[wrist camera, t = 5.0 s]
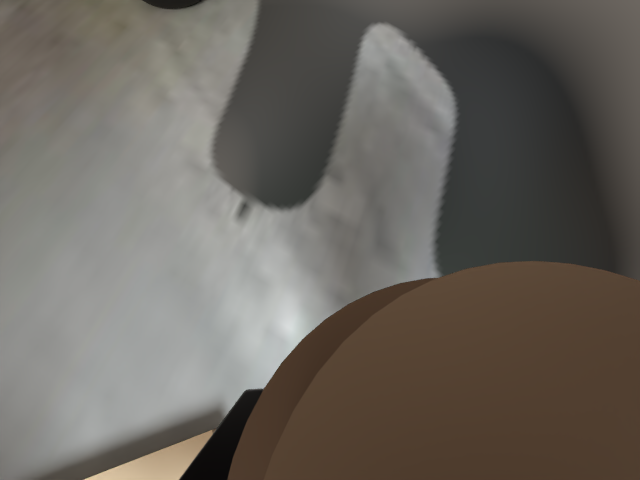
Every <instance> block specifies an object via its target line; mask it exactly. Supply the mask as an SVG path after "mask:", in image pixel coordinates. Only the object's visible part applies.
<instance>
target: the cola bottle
mask: <svg viewBox="0 0 640 480" xmlns="http://www.w3.org/2000/svg"><path fill="white" fill-rule="evenodd" d="M143 1H145V2H146V3H148V4H151V5H154V6H157V7H162V8H181V7H186V6H190V5H192V4H195V3H197V2H199V1H200V0H143Z"/></svg>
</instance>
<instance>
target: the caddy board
mask: <svg viewBox="0 0 640 480" xmlns="http://www.w3.org/2000/svg"><path fill="white" fill-rule="evenodd" d="M215 430H216V429H214V430H210V431H208V432H205V433H203V434H200V435H197V436H195V437H192V438H190V439H187V440H185V441H182V442H179V443H177V444H174V445H172V446H169V447H166V448H164V449H161V450H159V451H156V452H154V453H151V454H148V455H146V456H143V457H141V458H138V459H135V460H133V461H130V462H128V463H125V464H123V465H120V466H117V467H115V468H112V469H110V470H107V471H104V472H102V473H99V474H97V475H94V476H92V477H89V478H86V479H84V480H179V479H180V477H181V476H182V475H183V473H184V472H185V471H186V469H187V468H188V467H189V465H190V464H191V463H192V461H193V460H194V459H195V457H196V456H197V455H198V453H199V452H200V451H201V449H202V448H203V446H204V445H205V444H206V442H207V441H208V440H209V438H210V437H211V436H212V434H213V433H214V432H215Z"/></svg>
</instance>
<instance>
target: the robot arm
mask: <svg viewBox="0 0 640 480" xmlns="http://www.w3.org/2000/svg"><path fill="white" fill-rule="evenodd" d="M263 390H264V389H248V390H246V391H244V393H243V394H242V395H241V397H240V398H239V399H238V401H237V402H236V403H235V405H234V406H233V407H232V409H231V410H230V411H229V413H228V414H227V415H226V417H225V418H224V420H223V421H222V422H221V424H220V425H219V426H218V428H217V429H216V430H215V432H214V433H213V434H212V436H211V437H210V438H209V440H208V441H207V442H206V444H205V445H204V446H203V448H202V449H201V451H200V452H199V453H198V455H197V456H196V457H195V459H194V460H193V461H192V463H191V464H190V465H189V467H188V468H187V469H186V471H185V472H184V473H183V475H182V476H181V477H180V479H179V480H227V479H228V475H229V471H230V467H231V464H232V460H233V456H234V454H235V451H236V449H237V446H238V443H239V441H240V438H241V435H242V433H243V430H244V428H245V425H246V422H247V420H248V418H249V416H250V414H251V413H252V411H253V409H254V407H255V405H256V403H257V401H258V399H259V397H260V395H261V393H262V391H263Z"/></svg>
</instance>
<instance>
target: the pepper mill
mask: <svg viewBox="0 0 640 480" xmlns="http://www.w3.org/2000/svg"><path fill="white" fill-rule="evenodd" d="M227 480H640V281H638V280H635V279H632V278H629V277H625V276H622V275H619V274H616V273H612V272H609V271H606V270H600V269H595V268H590V267H585V266H579V265H575V264H568V263H555V262H542V261H524V262H504V263H495V264H490V265H485V266H479V267H473V268H468V269H464V270H461V271H458V272H455V273H452V274H449V275H446V276H443V277H440V278H427V279H421V280H416V281H410V282H405V283H400V284H397V285H393V286H390V287H387V288H384V289H381V290H378V291H375V292H373V293H371V294H368V295H366V296H364V297H362V298H360V299H358V300H356V301H354V302H352V303H350V304H348V305H347V306H345V307H344V308H342V309H341V310H339V311H338V312H336V313H334V314H333V315H331V316H330V317H328V318H327V319H325V320H324V321H323V322H322V323H321V324H320V325H318V326H317V327H316V328H315V329H314V330H313V331H312V332H310V333H309V334H308V335H307V336H306V337H305V338H304V339H303V340H302V341H301V342H300V343H299V344H298V345H297V346H296V347H295V349H294V350H293V351H292V352H291V353H290V354H289V355H288V356H287V358H286V359H285V360H284V361H283V362H282V363H281V365H280V366H279V368H278V369H277V371H276V372H275V374H274V375H273V377H272V378H271V379H270V381H269V382H268V384H267V385H266V387H265V388H264V390H263V391H262V393H261V395H260V397H259V399H258V401H257V403H256V405H255V407H254V409H253V411H252V413H251V414H250V416H249V418H248V420H247V422H246V425H245V428H244V430H243V433H242V435H241V438H240V441H239V443H238V446H237V449H236V451H235V454H234V456H233V460H232V464H231V467H230V471H229V475H228V479H227Z"/></svg>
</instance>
